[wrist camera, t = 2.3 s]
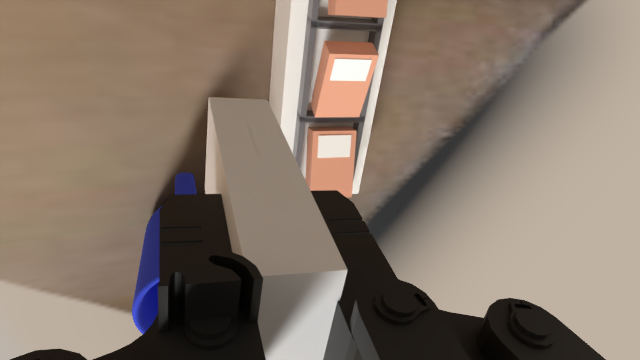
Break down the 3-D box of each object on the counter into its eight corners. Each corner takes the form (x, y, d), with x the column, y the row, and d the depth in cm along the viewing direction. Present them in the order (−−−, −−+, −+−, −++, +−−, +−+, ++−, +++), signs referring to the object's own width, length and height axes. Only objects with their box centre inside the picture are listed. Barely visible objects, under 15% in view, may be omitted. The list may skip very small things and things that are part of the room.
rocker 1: (324, 40, 29) (330, 54, 28) (372, 42, 30) (379, 55, 29) (310, 104, 33) (315, 118, 32) (353, 104, 34) (359, 117, 33)
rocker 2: (307, 127, 34) (313, 131, 32) (349, 126, 35) (357, 130, 33) (304, 192, 35) (310, 199, 34) (345, 190, 36) (352, 197, 35)
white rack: (284, -121, 29) (305, -117, 25) (387, -107, 31) (424, -100, 27) (264, 168, 40) (276, 205, 36) (341, 165, 42) (362, 200, 38)
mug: (234, 141, 38) (253, 216, 30) (235, 253, 45) (250, 338, 37) (126, 146, 36) (116, 228, 28) (143, 263, 43) (139, 356, 35)
